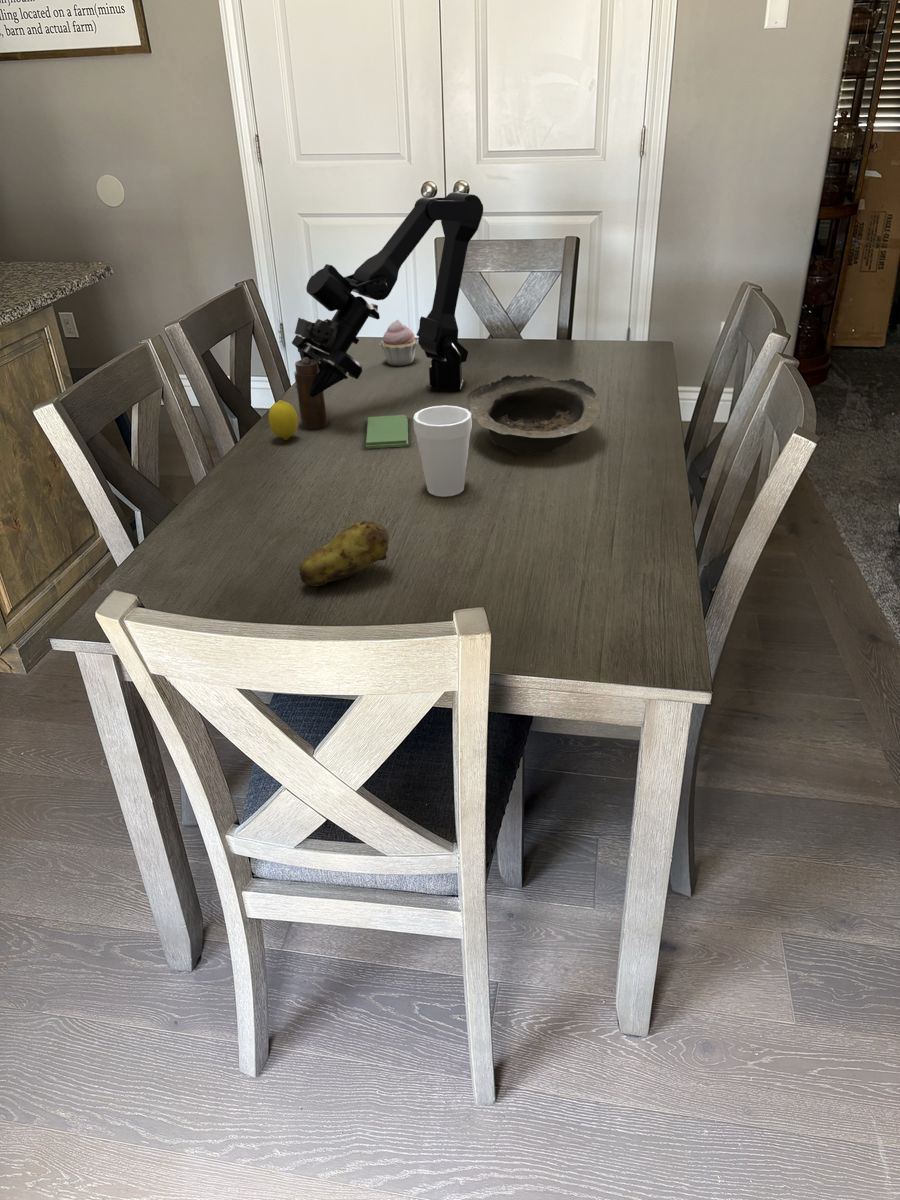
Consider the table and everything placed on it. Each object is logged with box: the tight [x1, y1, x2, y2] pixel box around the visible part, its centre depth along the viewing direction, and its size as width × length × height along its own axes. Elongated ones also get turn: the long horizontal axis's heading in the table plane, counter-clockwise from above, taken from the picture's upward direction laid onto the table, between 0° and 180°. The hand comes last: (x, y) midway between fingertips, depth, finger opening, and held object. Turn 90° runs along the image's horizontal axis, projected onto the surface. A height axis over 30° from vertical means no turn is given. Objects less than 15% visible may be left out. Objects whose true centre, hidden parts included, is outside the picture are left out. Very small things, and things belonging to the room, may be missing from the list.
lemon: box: [268, 399, 299, 441], centre depth 167 cm, size 6×6×8 cm
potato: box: [298, 519, 390, 587], centre depth 122 cm, size 8×13×8 cm, turn 95°
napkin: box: [365, 414, 409, 450], centre depth 169 cm, size 8×14×1 cm, turn 3°
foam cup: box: [412, 404, 473, 498], centre depth 144 cm, size 10×9×13 cm
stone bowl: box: [465, 374, 602, 455], centre depth 162 cm, size 25×25×9 cm
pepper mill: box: [293, 357, 328, 430], centre depth 172 cm, size 5×5×14 cm
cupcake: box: [379, 319, 419, 367], centre depth 206 cm, size 9×9×10 cm
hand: (303, 392), depth 171 cm, fingers closed on pepper mill, 5 cm apart
